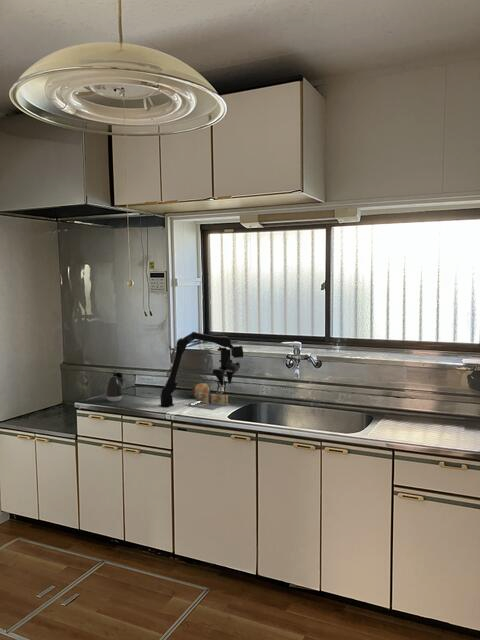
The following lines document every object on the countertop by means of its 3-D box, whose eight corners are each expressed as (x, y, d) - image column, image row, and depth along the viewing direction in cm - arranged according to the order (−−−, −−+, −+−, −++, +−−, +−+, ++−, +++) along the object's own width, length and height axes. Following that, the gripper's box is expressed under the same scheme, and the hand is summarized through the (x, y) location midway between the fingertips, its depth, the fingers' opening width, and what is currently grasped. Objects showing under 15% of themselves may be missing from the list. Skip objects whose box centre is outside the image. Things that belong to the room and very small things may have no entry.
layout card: (185, 405, 319) (185, 404, 319) (202, 400, 333) (202, 399, 333) (213, 409, 308) (213, 408, 308) (229, 404, 322) (229, 403, 322)
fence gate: (210, 402, 323) (210, 394, 323) (212, 401, 324) (212, 393, 324) (226, 404, 317) (226, 396, 316) (228, 403, 318) (228, 395, 318)
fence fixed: (196, 401, 329) (196, 392, 328) (198, 400, 330) (198, 391, 330) (210, 403, 323) (210, 394, 323) (212, 402, 325) (212, 393, 324)
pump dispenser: (121, 402, 329) (120, 377, 328) (103, 402, 329) (103, 377, 328) (125, 399, 339) (124, 374, 338) (108, 399, 339) (107, 374, 338)
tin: (194, 399, 336) (194, 385, 336) (190, 398, 338) (190, 385, 338) (210, 395, 348) (210, 382, 348) (206, 394, 350) (206, 381, 349)
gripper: (227, 361, 310) (228, 388, 311) (245, 357, 325) (246, 383, 326) (211, 359, 316) (212, 386, 317) (230, 355, 331) (230, 381, 333)
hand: (225, 384), depth 323 cm, fingers open, 7 cm apart
